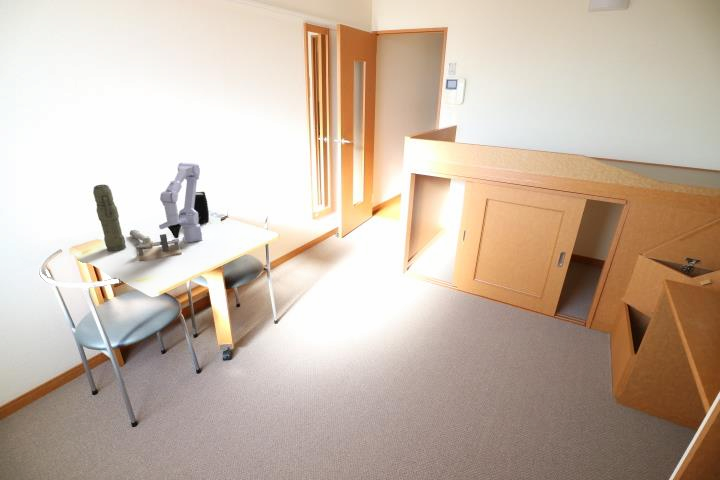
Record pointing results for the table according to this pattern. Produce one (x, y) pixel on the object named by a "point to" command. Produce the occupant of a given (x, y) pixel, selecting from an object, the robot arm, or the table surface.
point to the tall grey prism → (164, 242)
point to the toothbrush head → (141, 237)
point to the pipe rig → (157, 250)
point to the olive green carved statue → (109, 218)
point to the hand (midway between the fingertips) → (176, 237)
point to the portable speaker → (201, 207)
